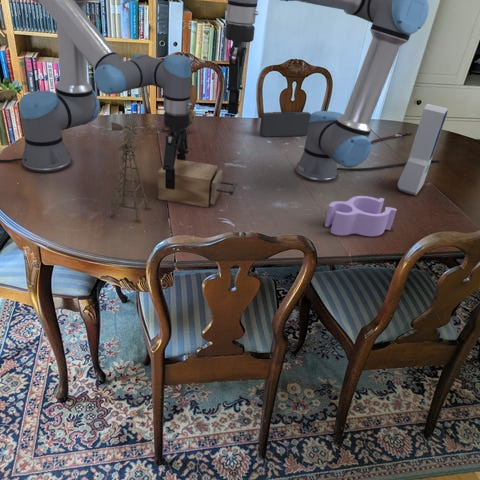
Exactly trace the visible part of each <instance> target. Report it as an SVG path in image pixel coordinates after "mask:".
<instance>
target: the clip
mask: <svg viewBox="0 0 480 480" xmlns="http://www.w3.org/2000/svg"><path fill="white" fill-rule="evenodd" d="M384 201H385V198H383V197H379V198H376V197H373V196H368V195H357V196H352V197H350V198H349V200H347V201H339V200H338V201H337V200H335V201H332V202H330V203H329V205H328V208H327V214H326V218H325V222H324V227H326V228H329V227H330V226H331V227H330V233H331V234H333V235H336V236H348V235H353V234H356V235H360V236H364V237H365V236H366V237H378V236H381V235H382V234H384V232H385V230H387V231H391V229H392V226H393V222H394V219H395V216H396V213H397V210H398V209H397V208H395V207H391V206H385V207H384V211H383V212H382V209H383V206H384Z"/></svg>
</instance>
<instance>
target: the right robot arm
mask: <svg viewBox="0 0 480 480" xmlns="http://www.w3.org/2000/svg"><path fill="white" fill-rule="evenodd" d="M281 1H283V2H300V3H305V4H311V5H316V6H322V7H327V8H332V9H336V10H342V11H343V12H344V13H345V14H346V15H349V16H353V17H357V18H360V19H362V20H364V21H367V22H369V23H371V26H370V30H369V31H370V34H371V36H372V38H371V40H370V43H369V45H368V49H367V51H366V54H365V56H364V60H363V62H362V64H361V67H360V69H359V73H358V75H357V78H356V81H355V83H354V86H353V88H352V91H351V94H350V97H349V99H348V102H347V105H346V107H345V110H344V112H343V113H341V112H337V111H332V110H331V111H330V110H319V111H318V110H317V111H314V112H312V113H310V114H311V116H310V120H309V126H308V132H307V135H306V138H305V142H304V143H305V144H304V149H303V153H302V154H301V157H300V159H299V161H297V163H296V166H295V173H296V175H298V177H300V178H302V179H303V180H307V181H310V182H315V183H330V182H333V181H335V180H336V179H337V177H338V171H345V172H347V171H352V172H353V171H354V172H355V171H356V172H357V171H359V172H360V171H372V170H373V171H374V170H380V169H381V170H382V169H387V168H394V167H400V166H406V164H407V161H406V162H400V163H392V164H387V165H381V166H380V165H379V166H373V167H372V166H371V167H357V166H359V165H360V164H361V165H362V164H363V163H364V162H365V161H366V160H367V158H368V157H369V155H370V154H371V151H372V144H371V140H370V139H369V137H370V135H371V132H372V127H371V125H370V121H371V119H372V117H373V114H374V112H375V110H376V108H377V105H378V102H379V100H380V97H381V94H382V92H383V91H384V87H385V85H386V82H387V81H388V78H389V75H390V73H391V71H392V68H393V66H394V63H395V61H396V59H397V56H398V53H399V51H400V48H401V47H402V46H403V45H404V44H406V43H408V42H409V40H410V37H411V35H413V34H415V33H417V32H418V31H419V30H421V28H422V27H423V26H424V25H425V23H426V21H427V18H428V15H429V1H428V0H281ZM258 2H259V0H227V4H226V17H225V20H226V22H227V23H226V24H225V32H224V38H225V39H226V40H228V41H231V42H232V45H231V46H230V47H229V55H228V65H229V66H228V86H227V87H226V91H228V102H227V114H228V115H235V116H236V115H238V114H239V105H240V104H239V103H240V95H241V91H243V89H244V87H243V86H242V85H243V75H244V68H245V67H244V66H245V62H246V61H245V60H246V59H245V58H246V54H247V47H246V43H251V42H253V41H254V40H255V39H254V38H255V30H256V28H255V26H254V24H256V19H257V17H256V16H259V11H258V10H257V8H258ZM438 162H440V159H432V160H431V163H438ZM338 165H340V166H342V167H338Z"/></svg>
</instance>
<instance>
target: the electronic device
mask: <svg viewBox="0 0 480 480" xmlns="http://www.w3.org/2000/svg"><path fill="white" fill-rule="evenodd" d="M448 114H449V108H448V107H444V106H439V105H434V104H431V103H427V104H425V106H424V107H423V110H422V113H421V117H420V120H419V123H418V126H417V130H416V133H415V137H414V140H413V142H412V146H411V150H410V151H409V155H408V159H407V161H406V162H407V164H406V165H404V168H403V169H402V173H401V175H400V177H399V179H398V182H397V184H396V187H397V189H398V191H400V192H403V193H406V194H409V195H413V196H417V195H418V193H419V192H420V190H421V189H422V188H423V186H424V183H425V181H426V178H427V175H428V172H429V170H430V169H429V168H430V166H431V163H432V162H431V160H433V157H434V154H435V150H436V148H437V145H438V142H439V139H440V136H441V133H442V130H443V128H444V124H445V122H446V118H447V117H448V116H447V115H448Z"/></svg>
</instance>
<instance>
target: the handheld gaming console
mask: <svg viewBox="0 0 480 480" xmlns="http://www.w3.org/2000/svg"><path fill="white" fill-rule="evenodd" d="M311 114H312V113H310V112H307V111H272V112H271V111H270V112H263V113H262V114H261V116H260V123H259V124H260V125H259V131H258V132H259V134H260V136H262V137H293V136H294V137H295V136H296V137H298V136H307V132H308V126H309V120H310V116H311Z"/></svg>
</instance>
